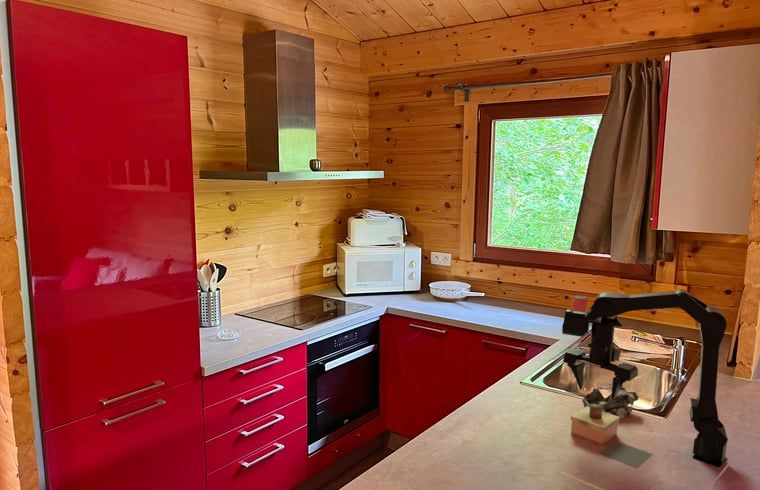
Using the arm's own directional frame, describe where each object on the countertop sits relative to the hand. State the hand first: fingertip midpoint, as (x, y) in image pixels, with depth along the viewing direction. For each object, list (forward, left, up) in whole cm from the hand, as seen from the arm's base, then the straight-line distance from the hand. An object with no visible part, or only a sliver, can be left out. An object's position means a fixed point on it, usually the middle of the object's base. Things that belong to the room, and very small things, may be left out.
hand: (596, 393), depth 160 cm
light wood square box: (0, 0, -12) cm, 12 cm away
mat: (-11, +4, -12) cm, 17 cm away
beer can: (+55, -102, -13) cm, 117 cm away
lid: (0, 0, -8) cm, 8 cm away
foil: (+3, -17, -13) cm, 22 cm away
